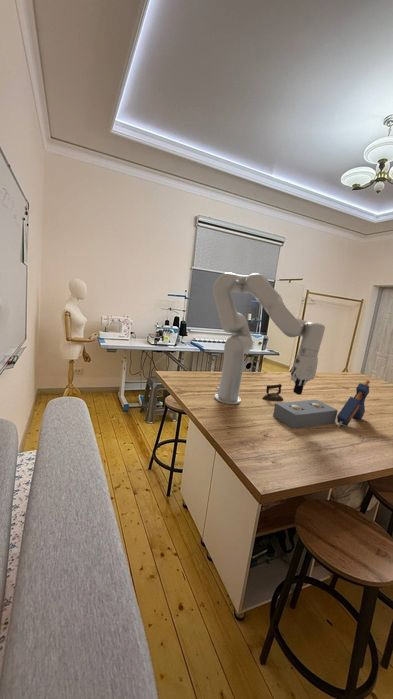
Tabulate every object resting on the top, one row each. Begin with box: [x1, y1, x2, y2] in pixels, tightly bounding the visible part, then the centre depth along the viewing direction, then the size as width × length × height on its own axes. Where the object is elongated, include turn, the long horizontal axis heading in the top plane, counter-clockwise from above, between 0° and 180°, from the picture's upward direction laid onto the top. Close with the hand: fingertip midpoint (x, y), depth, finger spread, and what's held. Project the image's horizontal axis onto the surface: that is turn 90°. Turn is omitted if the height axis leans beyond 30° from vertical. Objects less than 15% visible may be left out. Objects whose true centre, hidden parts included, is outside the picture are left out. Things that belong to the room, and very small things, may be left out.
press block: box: [272, 399, 339, 430], centre depth 127 cm, size 12×26×6 cm, turn 118°
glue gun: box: [336, 379, 371, 428], centre depth 133 cm, size 6×31×15 cm
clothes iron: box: [262, 383, 284, 402], centre depth 147 cm, size 7×11×10 cm, turn 120°
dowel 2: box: [312, 403, 322, 408], centre depth 130 cm, size 4×4×5 cm
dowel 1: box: [291, 405, 302, 411], centre depth 124 cm, size 4×4×5 cm
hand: (297, 393), depth 123 cm, fingers closed
